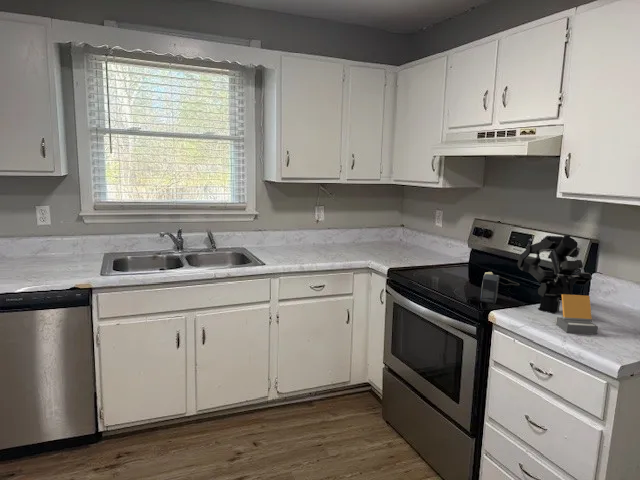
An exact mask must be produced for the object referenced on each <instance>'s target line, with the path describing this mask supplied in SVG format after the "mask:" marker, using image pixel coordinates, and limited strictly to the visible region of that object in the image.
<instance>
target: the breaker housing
mask: <svg viewBox="0 0 640 480" xmlns="http://www.w3.org/2000/svg"><path fill="white" fill-rule="evenodd" d="M555 325H556V326H557V327H558V326H559V327H558V328H560V329H561V330H562V331H564V332H566V333H567V334H568V333H569V334H583V335H598V330H599V326H598V325H597V324H595V323H593V321H592V322H588V321H570V320H563V317H556V322H555Z"/></svg>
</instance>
